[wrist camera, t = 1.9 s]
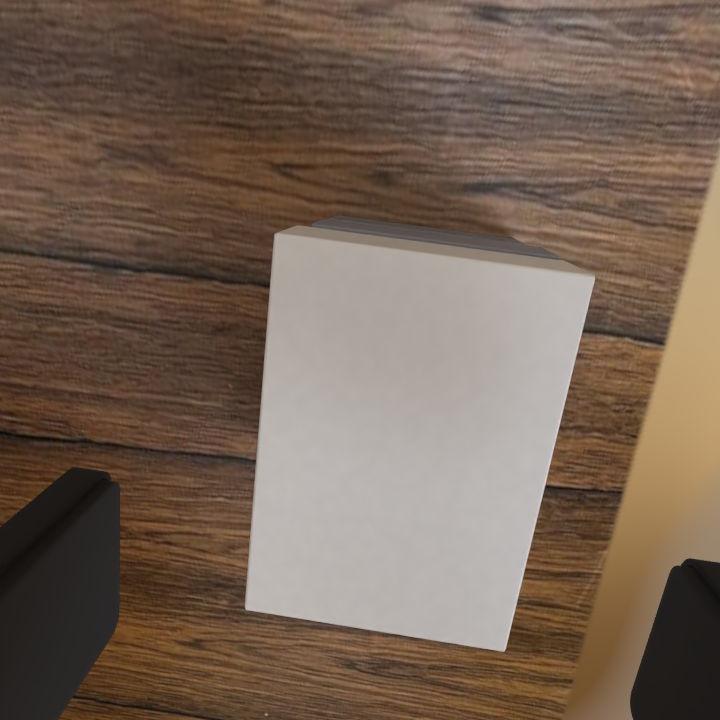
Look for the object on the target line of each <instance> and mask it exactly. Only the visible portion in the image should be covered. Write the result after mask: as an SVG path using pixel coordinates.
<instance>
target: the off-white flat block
mask: <svg viewBox="0 0 720 720" xmlns="http://www.w3.org/2000/svg"><path fill="white" fill-rule="evenodd" d="M594 281H595V276H594V275H592V274H590V273H588V272H586V271H584V270H582V269H580V268H578V267H576V266H574V265H572V264H570V263H568V262H566V261H562V260H554V259H547V258H539V257H532V256H524V255H517V254H509V253H502V252H494V251H487V250H479V249H472V248H464V247H457V246H449V245H442V244H434V243H427V242H419V241H412V240H404V239H397V238H389V237H382V236H374V235H367V234H359V233H352V232H344V231H337V230H329V229H322V228H314V227H307V226H299V225H297V226H294V227H291V228H288V229H286V230H283V231H280V232H277V233H275V235H274V242H273V255H272V267H271V280H270V293H269V305H268V318H267V331H266V343H265V356H264V369H263V381H262V394H261V407H260V419H259V432H258V445H257V457H256V470H255V483H254V495H253V508H252V521H251V533H250V546H249V559H248V571H247V584H246V597H245V609H246V610H251V611H257V612H263V613H269V614H275V615H281V616H287V617H294V618H300V619H306V620H312V621H318V622H324V623H331V624H337V625H343V626H349V627H355V628H361V629H368V630H374V631H380V632H386V633H392V634H398V635H405V636H411V637H417V638H423V639H429V640H435V641H441V642H448V643H454V644H460V645H466V646H472V647H478V648H485V649H491V650H497V651H505V649H506V645H507V641H508V637H509V633H510V629H511V625H512V621H513V616H514V612H515V608H516V604H517V600H518V596H519V592H520V587H521V583H522V579H523V575H524V571H525V567H526V563H527V558H528V554H529V550H530V546H531V542H532V538H533V534H534V529H535V525H536V521H537V517H538V513H539V509H540V504H541V500H542V496H543V492H544V488H545V484H546V480H547V475H548V471H549V467H550V463H551V459H552V455H553V451H554V446H555V442H556V438H557V434H558V430H559V426H560V422H561V417H562V413H563V409H564V405H565V401H566V397H567V393H568V388H569V384H570V380H571V376H572V372H573V368H574V364H575V359H576V355H577V351H578V347H579V343H580V339H581V335H582V330H583V326H584V322H585V318H586V314H587V310H588V306H589V301H590V297H591V293H592V289H593V285H594Z"/></svg>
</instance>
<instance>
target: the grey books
mask: <svg viewBox="0 0 720 720" xmlns="http://www.w3.org/2000/svg"><path fill="white" fill-rule="evenodd" d="M311 227H314V228H322V229H329V230H337V231H344V232H352V233H359V234H367V235H374V236H382V237H389V238H397V239H404V240H412V241H419V242H427V243H434V244H442V245H449V246H457V247H464V248H472V249H479V250H487V251H494V252H502V253H509V254H517V255H524V256H532V257H539V258H547V259H554V260H559V256H557V255H555V254H553V253H551V252H549V251H547V250H545V249H543V248H540V247H533V246H525V244H523V243H521V242H520V241H518V240H516V239H514V238H508V237H500V236H493V235H485V234H477V233H470V232H462V231H455V230H447V229H440V228H432V227H424V226H417V225H409V224H402V223H394V222H387V221H379V220H371V219H364V218H356V217H349V216H341V215H335V216H333V217H331V218H328V219H322V220H319V221H317V222H314V223H312V224H311Z"/></svg>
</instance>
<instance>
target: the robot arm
mask: <svg viewBox="0 0 720 720" xmlns="http://www.w3.org/2000/svg"><path fill="white" fill-rule="evenodd" d="M119 571H120V487H119V484H118V483H117V482H112V481H111V477H110V474H109V473H108V472H104V471H97V470H90V469H83V468H76V467H73V468H71V469H69V470H68V471H67V472H66V473H64V474H63V475H62V476H61V477H60V478H59V479H57V480H56V481H55V482H54V483H53V484H51V485H50V486H49V487H48V488H47V489H45V490H44V491H43V492H42V493H41V494H40V495H38V496H37V497H36V498H35V499H34V500H32V501H31V502H30V503H29V504H28V505H26V506H25V507H24V508H23V509H22V510H21V511H19V512H18V513H17V514H16V515H15V516H13V517H12V518H11V519H10V520H9V521H7V522H6V523H5V524H4V525H3V526H2V527H0V720H58V718H59V717H60V715H61V714H62V712H63V711H64V709H65V708H66V706H67V705H68V703H69V701H70V700H71V698H72V697H73V695H74V694H75V692H76V691H77V689H78V688H79V686H80V685H81V683H82V681H83V680H84V678H85V677H86V675H87V674H88V672H89V671H90V669H91V668H92V666H93V665H94V663H95V662H96V660H97V658H98V657H99V655H100V654H101V652H102V651H103V649H104V648H105V646H106V645H107V643H108V642H109V640H110V638H111V637H112V635H113V633H114V631H115V628H116V625H117V622H118V617H119ZM630 706H631V713H632V717H633V720H720V563H717V562H710V561H704V560H696V559H686V560H685V561H684V562H683V563H682V564H681V566H675V567H673V568H672V570H671V572H670V574H669V577H668V580H667V583H666V586H665V589H664V593H663V595H662V599H661V602H660V605H659V608H658V611H657V614H656V617H655V620H654V623H653V627H652V630H651V633H650V636H649V639H648V642H647V645H646V649H645V652H644V655H643V658H642V661H641V664H640V667H639V670H638V674H637V676H636V679H635V682H634V686H633V689H632V692H631V698H630Z"/></svg>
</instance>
